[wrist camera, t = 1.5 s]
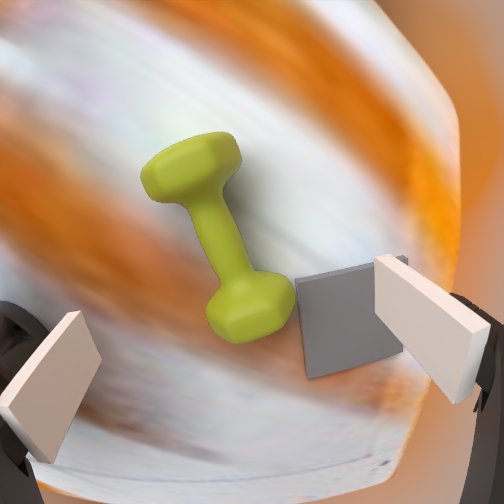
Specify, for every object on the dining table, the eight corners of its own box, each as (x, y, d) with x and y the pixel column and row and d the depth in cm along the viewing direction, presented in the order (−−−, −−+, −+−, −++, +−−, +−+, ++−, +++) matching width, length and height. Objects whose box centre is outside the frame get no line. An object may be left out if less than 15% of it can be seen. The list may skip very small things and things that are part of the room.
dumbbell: (291, 291, 31) (310, 328, 24) (216, 320, 31) (215, 363, 24) (229, 127, 26) (232, 116, 19) (145, 163, 26) (120, 165, 19)
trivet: (305, 374, 34) (308, 379, 33) (295, 279, 30) (297, 283, 29) (398, 347, 34) (402, 351, 33) (402, 255, 30) (407, 258, 30)
